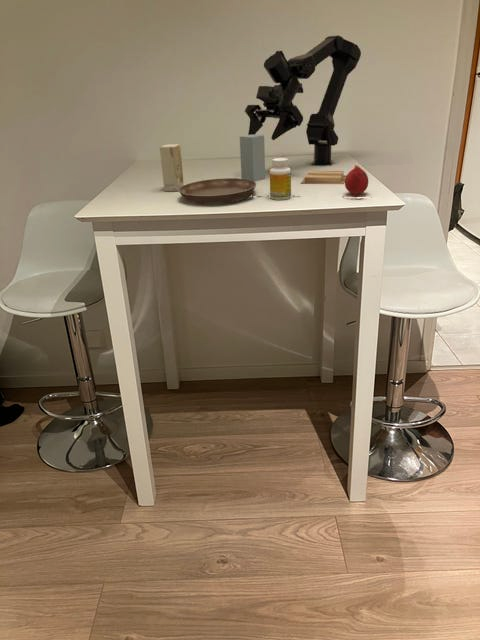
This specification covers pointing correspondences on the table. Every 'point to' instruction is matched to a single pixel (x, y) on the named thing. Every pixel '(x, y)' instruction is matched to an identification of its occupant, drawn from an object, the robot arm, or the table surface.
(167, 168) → the skincare box
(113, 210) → the table surface
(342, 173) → the oak top slab
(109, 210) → the table surface
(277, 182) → the supplement bottle
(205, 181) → the plant saucer
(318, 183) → the walnut base slab
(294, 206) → the table surface
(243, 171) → the slate block
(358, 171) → the onion
